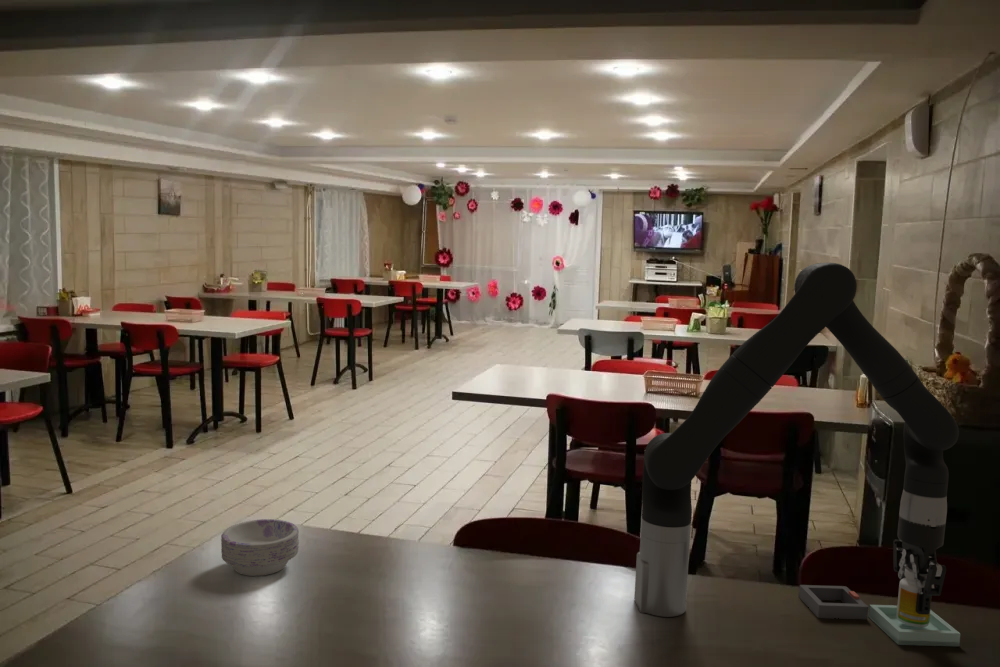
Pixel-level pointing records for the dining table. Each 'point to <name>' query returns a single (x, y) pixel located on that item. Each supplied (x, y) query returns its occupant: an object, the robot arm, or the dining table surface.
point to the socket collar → (846, 610)
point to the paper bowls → (259, 546)
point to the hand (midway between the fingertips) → (913, 605)
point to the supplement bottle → (910, 602)
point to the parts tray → (914, 628)
